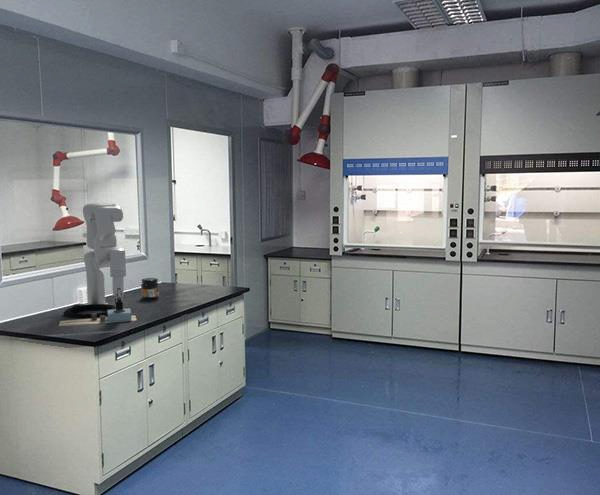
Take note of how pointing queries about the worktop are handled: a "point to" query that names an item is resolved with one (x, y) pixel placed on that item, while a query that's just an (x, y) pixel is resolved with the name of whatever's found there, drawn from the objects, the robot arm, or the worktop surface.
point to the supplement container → (149, 289)
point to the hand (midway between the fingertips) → (119, 307)
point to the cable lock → (77, 308)
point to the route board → (89, 320)
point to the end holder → (119, 315)
